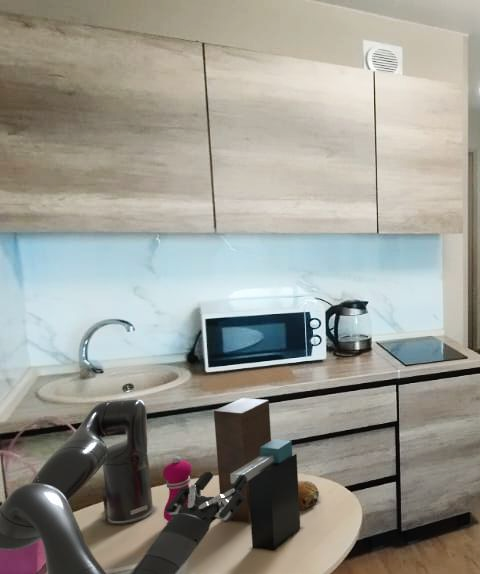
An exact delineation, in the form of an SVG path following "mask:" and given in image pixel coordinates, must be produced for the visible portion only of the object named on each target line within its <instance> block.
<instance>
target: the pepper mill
mask: <svg viewBox="0 0 480 574" xmlns="http://www.w3.org/2000/svg"><path fill="white" fill-rule="evenodd" d="M171 461H172V462H170V463H168V464H166V466H165V467H164V468H163V470H162V477H163V479H164V480H165V481H166V482H165V483H166V488H167V489H168V498H167V502H166V504H165V506H164V508H163V509H164V510H163V518H164V520H165V521H167V523H168V522H169V521H170V520H171V518H172V516H171V515H170V514H169V513H168V512H167V511H166V508H167V507H168V505H169V504H170V503H171V501H172V500H173V499H174V497H175V496H176V494H177V493H178V492H179V490H180V489H181V488H182V487H186V488H187V487H190V485H189V484H190V483H191V476H190V475H191V474H192V472H193V468H192V465H191V463H189V462H188V461H186V460H182V458H181V457H180V456H174V457H173V458H172V460H171ZM183 496H184V495H183ZM183 496H182V497H183ZM186 504H188V500H187V501H186V503H185V504H184V505H186ZM184 505H183V506H184ZM167 523H166V524H167Z"/></svg>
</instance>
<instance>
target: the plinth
mask: <svg viewBox="0 0 480 574" xmlns="http://www.w3.org/2000/svg"><path fill="white" fill-rule="evenodd" d="M213 419H214V432H215V445H216V446H215V447H216V459H217V472H218V473H217V475H218V486H219V494H224V493H226V492H227V491H229V490H231V487H232V485H233V484H234V483H231V479H230V474H231V473H233V472H234V471H236V470H238V469H239V468H241V467H243V466H244V465H246V464H248V463H249V462H251V461H253V460H254V459H256V458H257V457H259V456H261V455H260V447H261V446H263V445H265V444H267V443H268V442H270V441H272V431H271V414H270V400H269V399H261V398H250V397H249V398H248V397H241V398H239V399H237V400H235V401H233V402H230V403H228V404H226V405H224V406H223V405H222V407H218V408H217V409H214V410H213ZM240 493H241V494H242V496H243V497H244V498H245V500H244V502H243V503H242V504H241V506H240V507H239V508H238V510H237V511H236V512H235V513H234V515H233V516H232V517H231V519H230V520H229V521H228V522H234V523H235V522H236V523H245V524H251V517H250V502H249V487H248V481H247V483H246V485H245V486H244V488H243V489H242V490H241V492H240ZM229 497H231V496H229ZM229 497H227V498H229ZM227 498H226V499H227ZM236 502H237V501H236ZM236 502H235V503H236ZM220 504H222V502H221V501H220Z"/></svg>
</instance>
